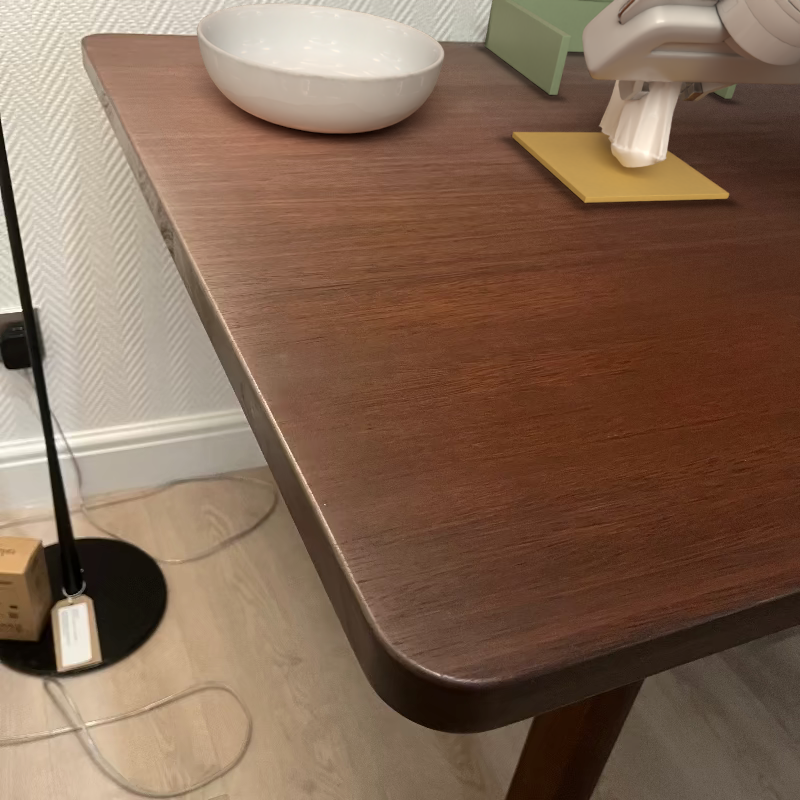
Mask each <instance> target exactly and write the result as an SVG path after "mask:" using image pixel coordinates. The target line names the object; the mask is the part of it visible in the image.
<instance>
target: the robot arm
mask: <svg viewBox="0 0 800 800" xmlns="http://www.w3.org/2000/svg"><path fill="white" fill-rule="evenodd" d="M582 42H583V51H584V52H583V56H584V62H585V66H586V69H587V71H588V74H589V76H590V77H591V79H593V80H595V81H596V80H597V81H616V80H619V84H618V86H619V92H620V98H621V99H622V100H640V99H641V97H642V96H645V95H646V94H647V93H648V92H650V91H649V85H648V83H647V82H651V81H664V82H682V85H681V89H680V93H679V97H678V99H679V100H680V101H682V102H698V101H700V100H701V99H703V98H704V97H705V96H708V94H711V93H714V91H717V90H720V89H723V88H726V87H729V86H732V85H735V84H737V85H738V84H745V85H746V84H748V85H750V84H751V85H779V86H780V85H781V86H782V85H783V86H785V85H786V86H797V85H800V0H614V1H613V2H612V3H610V4H609V5H608V6H607V7H606V8H605V9H603V10H602V11H601V12H600V13H599V14H598V15H597V16H596V17H595V18H594V19H592V20H591V21H590V22H589V23H588V24H587V26H586V27H585V28H584V30H583V35H582Z"/></svg>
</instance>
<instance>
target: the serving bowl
mask: <svg viewBox="0 0 800 800" xmlns="http://www.w3.org/2000/svg"><path fill="white" fill-rule="evenodd" d="M196 37H197V43H198V47H199V51H200V56H201V60H202V62H203V65H204V67H205V70H206V72H207V74H208V76H209V78H210V79H211V81H212V82H213V84H214V85H215V86H216V87H217V89H218V90H219V91H220V92H221V93H222V94H223V96H224V97H226V98H227V99H228V100H229V101H230V102H231V103H233V104H234V105H235V106H237V108H240V109H241V110H242V111H245V112H246V113H248V114H250V115H253V116H254V117H256V118H259V119H261V120H264V121H266V122H268V123H271V124H275V125H279V126H283V127H286V128H291V129H293V130H294V129H295V130H301V131H305V132H309V133H315V134H356V133H357V134H359V133H365V132H366V133H367V132H371V131H377V130H381V129H384V128H387V127H391V126H394V125H395V124H398V123H400V122H402V121H404V120H405V119H407V118H409V117H411V116H412V115H413V114H414V113H416V112H417V111H418V110H419V109H420V108H421V107H422V106H423V105H424V104H425V102H426V101H427V100H428V99H429V98H430V96H431V94H433V91H434V89H435V87H436V85H437V83H438V81H439V77H440V75H441V72H442V69H443V68H442V67H443V64H444V60H445V50H444V48H443V46H442V45H441V43H440V42H439V41H438V40H436V39H435V38H434V37H432V36H431V35H430V34H428V33H426V32H424V31H423V30H420V29H418V28H416V27H414V26H411V25H409V24H406V23H403V22H401V21H397V20H395V19H392V18H387V17H385V16H381V15H376V14H371V13H367V12H364V11H358V10H353V9H347V8H340V7H333V6H326V5H317V4H307V3H306V4H305V3H289V2H288V3H285V2H284V3H283V2H282V3H281V2H280V3H279V2H276V3H275V2H274V3H272V2H271V3H270V2H269V3H267V2H266V3H252V4H243V5H235V6H230V7H227V8H221V9H218V10H216V11H214V12H211V13H209V14H207V15H205V16H204V17H203V18H202V19H201V20H199V22H198V23H197V26H196Z"/></svg>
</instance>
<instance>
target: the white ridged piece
mask: <svg viewBox="0 0 800 800" xmlns="http://www.w3.org/2000/svg"><path fill="white" fill-rule="evenodd" d="M647 83H648V85H649V91H650V92H648V93H647V94H646V95H645V96H642V97H641V99H640V100H622V99H621V98H620V92H619V86H618V84H619V80H615V83H614V86H613V89H612V93H611V96H610V99H609V101H608V103H607V107H606V108H605V111H604V113H603V115H602V118H601V121H600V123H599V125H598V127H600V128H601V130H600V132H603V133H604V134H607V135H609V136H610V137H609V138H608V139H609V140H610V142H611V151H612V154H613V155H614V156H615V157H616V158H617V159H618V161H619V162H620V163H621V165H623V166H626V167H643V166H649V165H653V164H656V163H659V162H662V161H664V160H665V159H666V154H667V150H668V147H669V142H670V141H669V140H670V134H671V129H672V122H673V116H674V113H675V110H676V109H675V108H676V107H677V103H678V99H679V94H680V89H681V85H682V82H664V81H651V82H647Z"/></svg>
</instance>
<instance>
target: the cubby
mask: <svg viewBox="0 0 800 800" xmlns="http://www.w3.org/2000/svg"><path fill="white" fill-rule="evenodd" d="M613 1H614V0H491V5H490V10H489V16H488V22H487V23H488V24H487V27H486V28H487V29H486V32H485V33H486V34H485V38H484V43H483V44H484V47H485V48H486V49H488V50H489V51H490V52H492V53H493V54H494V55H496V56H497V57H498V58H500V60H502V61H504V62H505V63H506V64H508V66H510V67H512V68H513V69H514V70H516V71H517V72H518V73H520V75H522V76H524V77H525V78H527V80H529V81H530V82H532V84H534V85H536V86H537V87H538V88H539V89H541V90H543V92H544V93H546V94H547V95H548V96H558V94H559V89H560V85H561V82H562V76H563V73H564V68H565V65H566V61H567V56H568V52H570V53H584V51H583V42H582V35H583V30H584V28H585V27H586V26H587V24H588V23H589V22H590V21H591V20H592V19H594V18H595V17H596V16H597V15H598V14H599V13H600V12H601V11H602V10H603V9H605V8H606V7H607V6H608V5H609V4H610V3H612V2H613ZM737 85H738V83H737V84H735V85H732V86H729V87H726V88H723V89H720V90H717V91H714V92H713V93H715V94H716V95H717V96H719V97H721V98H723V99H725V100H732V98H733V96H734V93H735V90H736V88H737Z"/></svg>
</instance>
